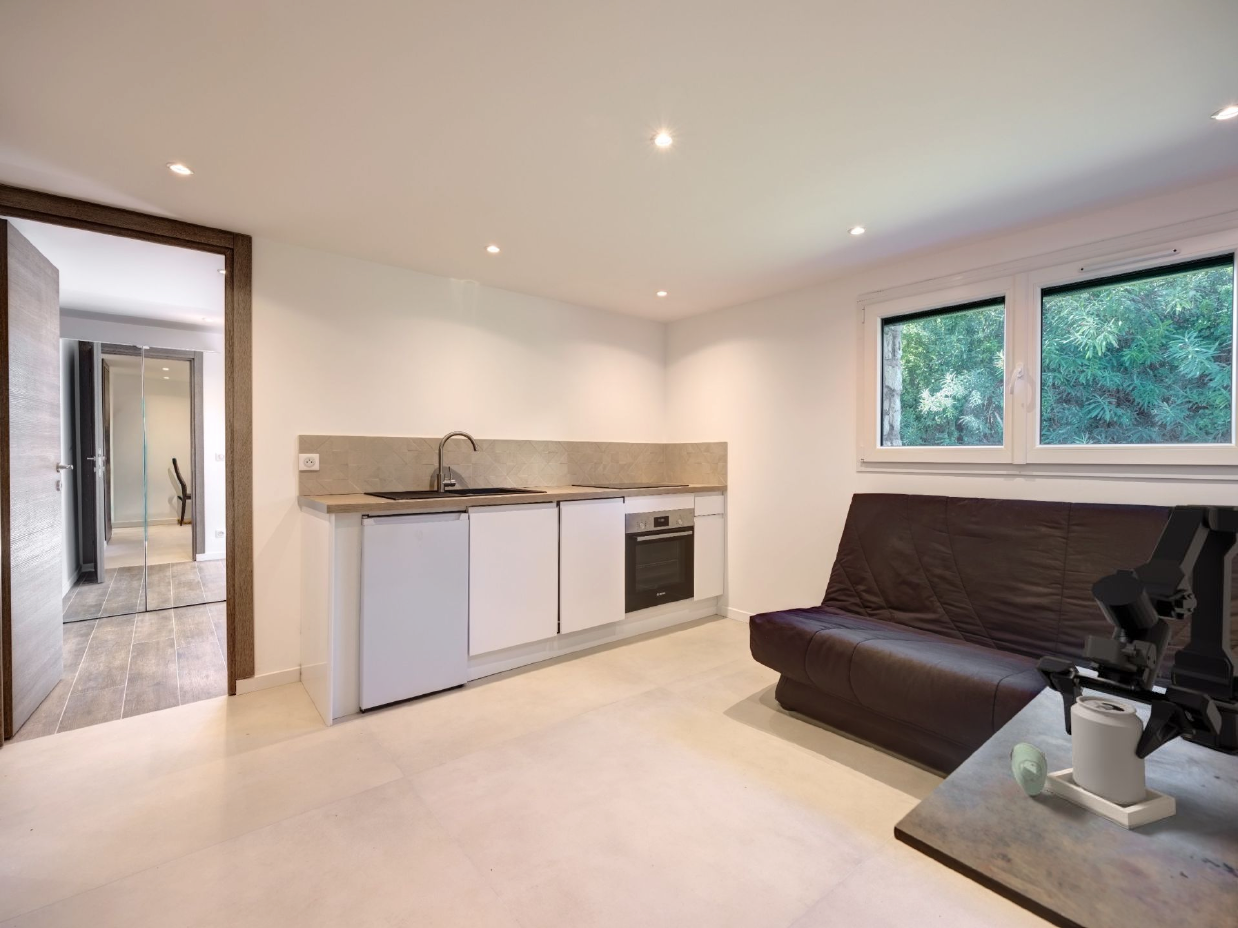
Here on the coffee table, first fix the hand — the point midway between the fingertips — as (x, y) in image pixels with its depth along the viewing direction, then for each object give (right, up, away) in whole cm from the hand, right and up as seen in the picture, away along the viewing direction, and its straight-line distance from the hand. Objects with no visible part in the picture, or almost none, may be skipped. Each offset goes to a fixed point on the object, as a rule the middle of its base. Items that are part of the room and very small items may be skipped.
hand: (1101, 744), depth 76 cm
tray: (+1, -8, 0) cm, 8 cm away
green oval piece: (-8, -8, +2) cm, 12 cm away
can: (+1, -7, 0) cm, 7 cm away
